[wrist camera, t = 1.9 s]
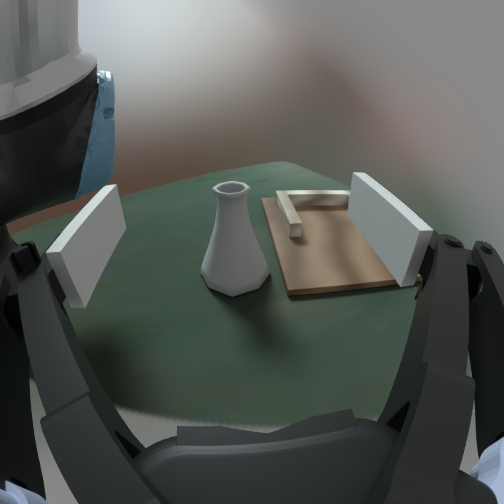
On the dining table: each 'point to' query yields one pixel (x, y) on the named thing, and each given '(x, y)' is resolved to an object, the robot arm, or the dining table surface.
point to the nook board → (321, 244)
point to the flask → (233, 245)
